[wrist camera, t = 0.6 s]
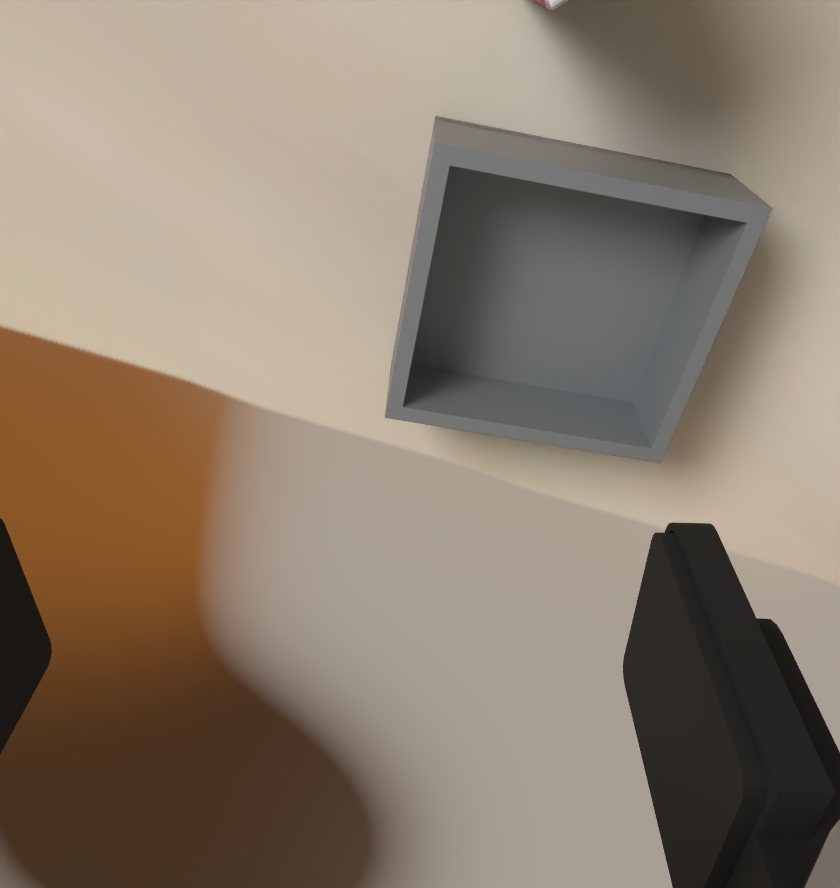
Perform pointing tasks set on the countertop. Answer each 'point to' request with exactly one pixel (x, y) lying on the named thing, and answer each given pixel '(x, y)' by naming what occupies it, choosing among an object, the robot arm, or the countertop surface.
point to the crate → (564, 290)
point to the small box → (551, 3)
